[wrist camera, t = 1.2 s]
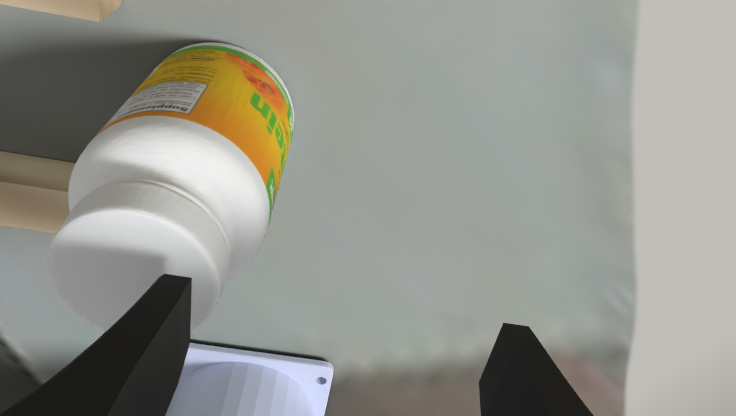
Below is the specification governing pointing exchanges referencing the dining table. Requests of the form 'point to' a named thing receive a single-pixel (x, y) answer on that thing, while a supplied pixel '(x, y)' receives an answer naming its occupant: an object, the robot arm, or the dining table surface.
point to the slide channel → (35, 174)
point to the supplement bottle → (175, 184)
